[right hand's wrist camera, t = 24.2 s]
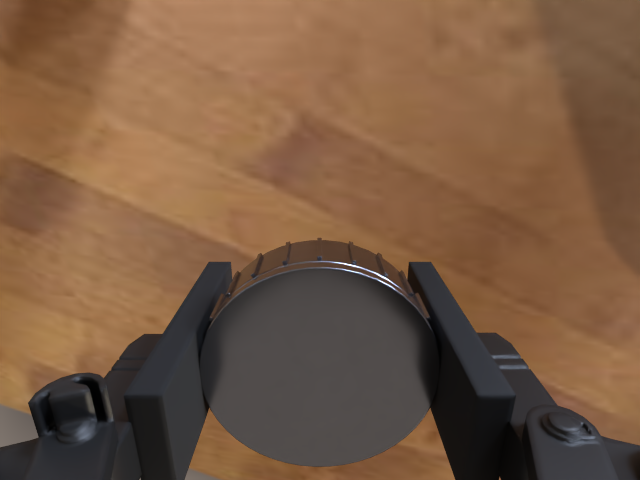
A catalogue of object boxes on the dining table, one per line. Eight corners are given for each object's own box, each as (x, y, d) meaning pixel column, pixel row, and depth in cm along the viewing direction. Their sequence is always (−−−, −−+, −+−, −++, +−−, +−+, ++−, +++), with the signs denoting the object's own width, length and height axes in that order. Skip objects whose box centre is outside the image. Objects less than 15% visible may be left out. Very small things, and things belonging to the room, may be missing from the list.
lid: (262, 439, 14) (254, 491, 12) (176, 278, 12) (150, 312, 10) (447, 387, 13) (468, 435, 11) (391, 204, 11) (405, 228, 9)
